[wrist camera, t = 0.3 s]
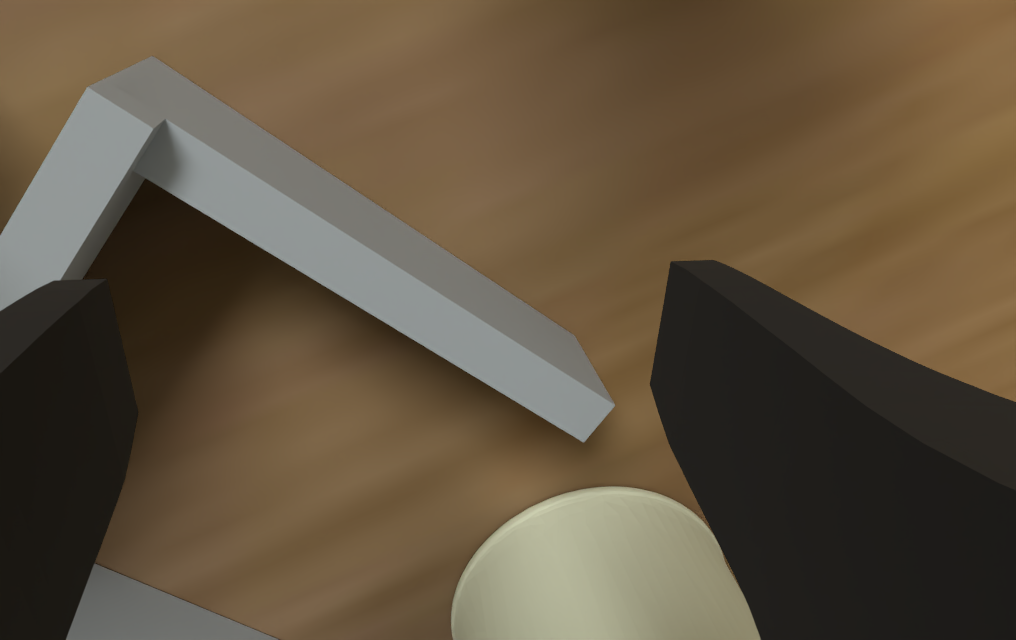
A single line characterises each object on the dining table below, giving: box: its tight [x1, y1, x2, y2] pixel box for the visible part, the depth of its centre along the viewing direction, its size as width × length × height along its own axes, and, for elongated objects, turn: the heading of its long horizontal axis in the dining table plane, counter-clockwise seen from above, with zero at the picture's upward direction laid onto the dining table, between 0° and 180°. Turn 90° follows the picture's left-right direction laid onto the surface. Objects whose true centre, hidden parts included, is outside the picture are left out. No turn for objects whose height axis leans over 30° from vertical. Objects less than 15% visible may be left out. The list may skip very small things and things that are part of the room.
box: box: [0, 56, 615, 640], centre depth 20 cm, size 14×13×5 cm
